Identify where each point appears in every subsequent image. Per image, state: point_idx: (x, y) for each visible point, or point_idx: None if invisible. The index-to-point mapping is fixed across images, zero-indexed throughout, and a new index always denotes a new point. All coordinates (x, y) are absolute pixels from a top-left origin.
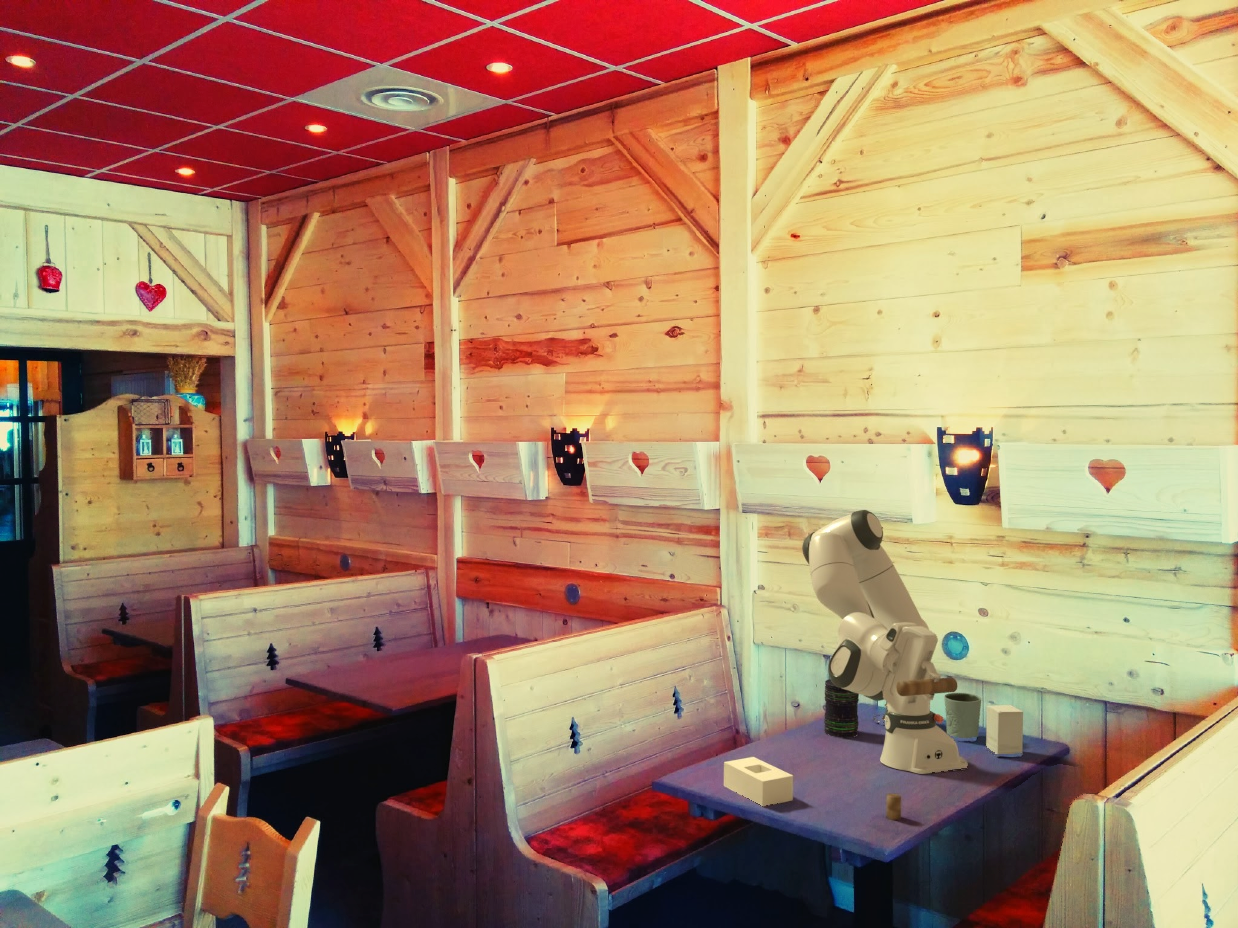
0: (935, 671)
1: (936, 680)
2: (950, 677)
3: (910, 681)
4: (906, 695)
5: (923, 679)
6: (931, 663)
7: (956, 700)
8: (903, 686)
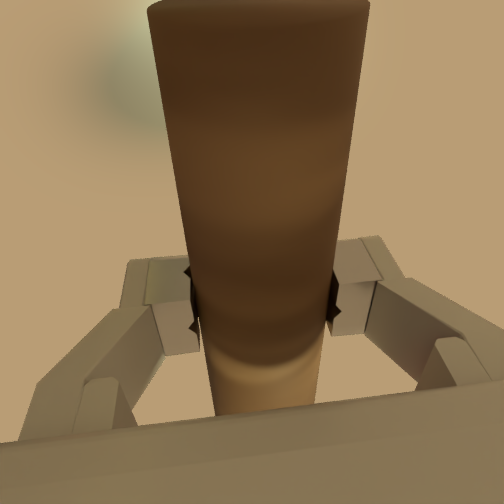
0: (405, 287)
1: None
2: (363, 27)
3: None
4: None
5: (317, 369)
6: (493, 346)
7: None
8: None
